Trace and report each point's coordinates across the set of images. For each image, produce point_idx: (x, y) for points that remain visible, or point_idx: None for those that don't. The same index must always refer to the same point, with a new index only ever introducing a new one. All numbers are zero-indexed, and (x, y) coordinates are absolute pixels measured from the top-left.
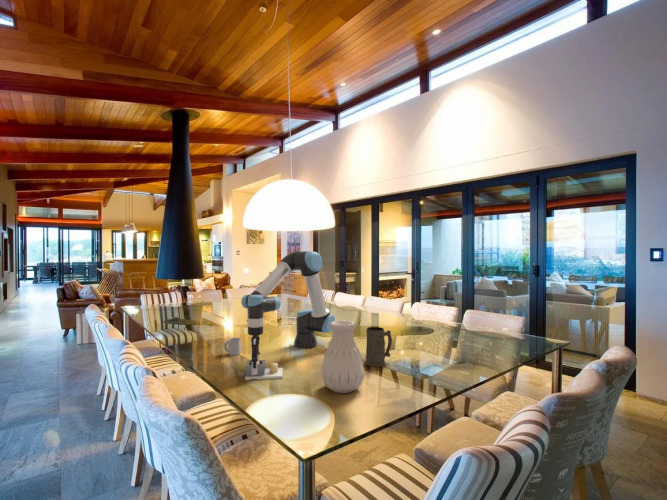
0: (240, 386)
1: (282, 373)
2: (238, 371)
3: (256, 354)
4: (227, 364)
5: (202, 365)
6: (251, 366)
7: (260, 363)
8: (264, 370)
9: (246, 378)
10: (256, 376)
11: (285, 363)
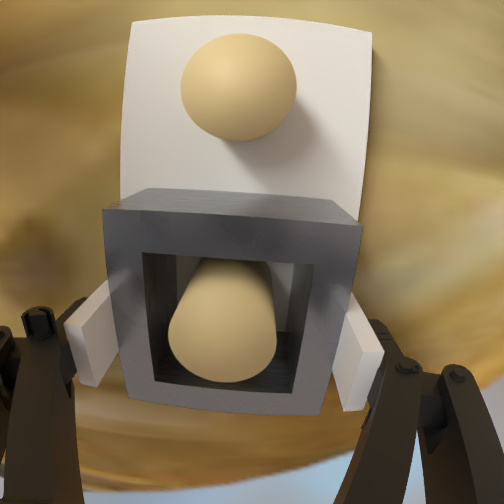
0: (424, 357)
1: (306, 22)
2: None
3: (494, 435)
4: None
5: None
6: (331, 368)
7: (153, 260)
8: (320, 206)
9: None
10: None
11: (8, 41)
